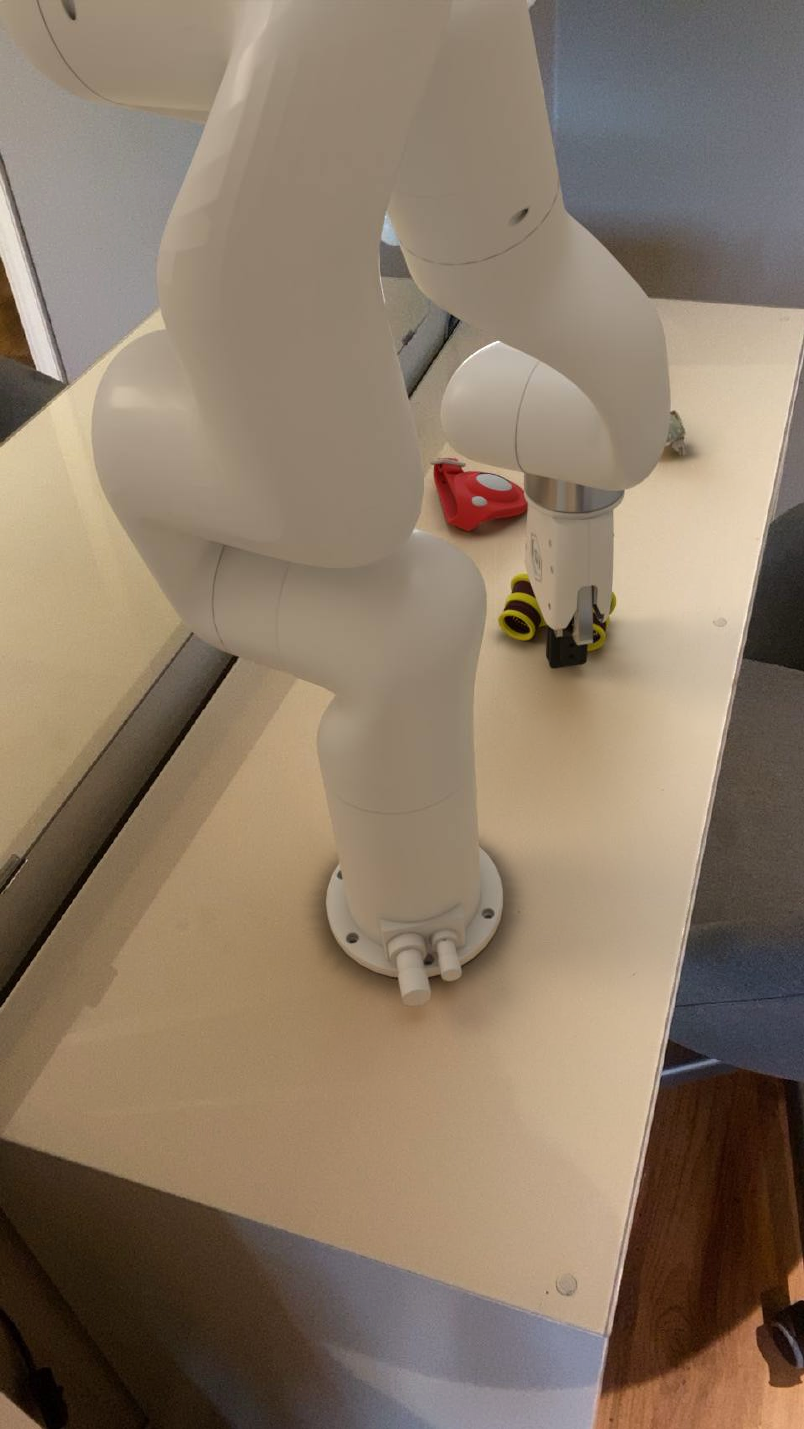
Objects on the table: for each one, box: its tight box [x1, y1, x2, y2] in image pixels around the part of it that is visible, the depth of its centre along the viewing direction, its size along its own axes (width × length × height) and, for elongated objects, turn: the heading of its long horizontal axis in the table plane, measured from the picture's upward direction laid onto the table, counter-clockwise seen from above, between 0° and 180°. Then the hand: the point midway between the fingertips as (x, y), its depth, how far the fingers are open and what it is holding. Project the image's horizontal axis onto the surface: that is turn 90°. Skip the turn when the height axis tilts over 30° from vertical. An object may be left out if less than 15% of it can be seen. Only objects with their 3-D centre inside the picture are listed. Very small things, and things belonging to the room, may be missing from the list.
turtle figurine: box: [665, 409, 687, 456], centre depth 117 cm, size 9×11×5 cm
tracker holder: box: [429, 456, 528, 532], centre depth 109 cm, size 12×4×10 cm
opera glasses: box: [498, 572, 617, 652], centre depth 94 cm, size 10×5×5 cm, turn 70°
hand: (566, 660), depth 91 cm, fingers closed
